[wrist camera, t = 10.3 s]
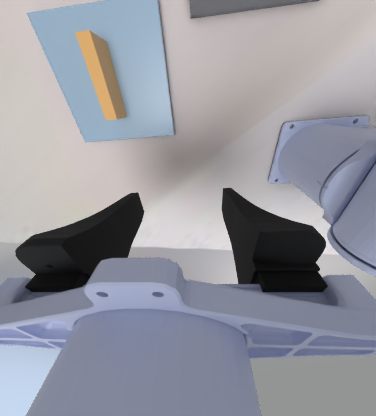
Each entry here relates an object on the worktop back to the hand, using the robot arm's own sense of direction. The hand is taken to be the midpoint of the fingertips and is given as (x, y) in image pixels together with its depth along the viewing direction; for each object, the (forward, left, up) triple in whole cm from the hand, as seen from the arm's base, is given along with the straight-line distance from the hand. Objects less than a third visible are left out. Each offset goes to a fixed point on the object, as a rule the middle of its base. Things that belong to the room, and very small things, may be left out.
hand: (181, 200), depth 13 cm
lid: (+7, -9, -11) cm, 16 cm away
